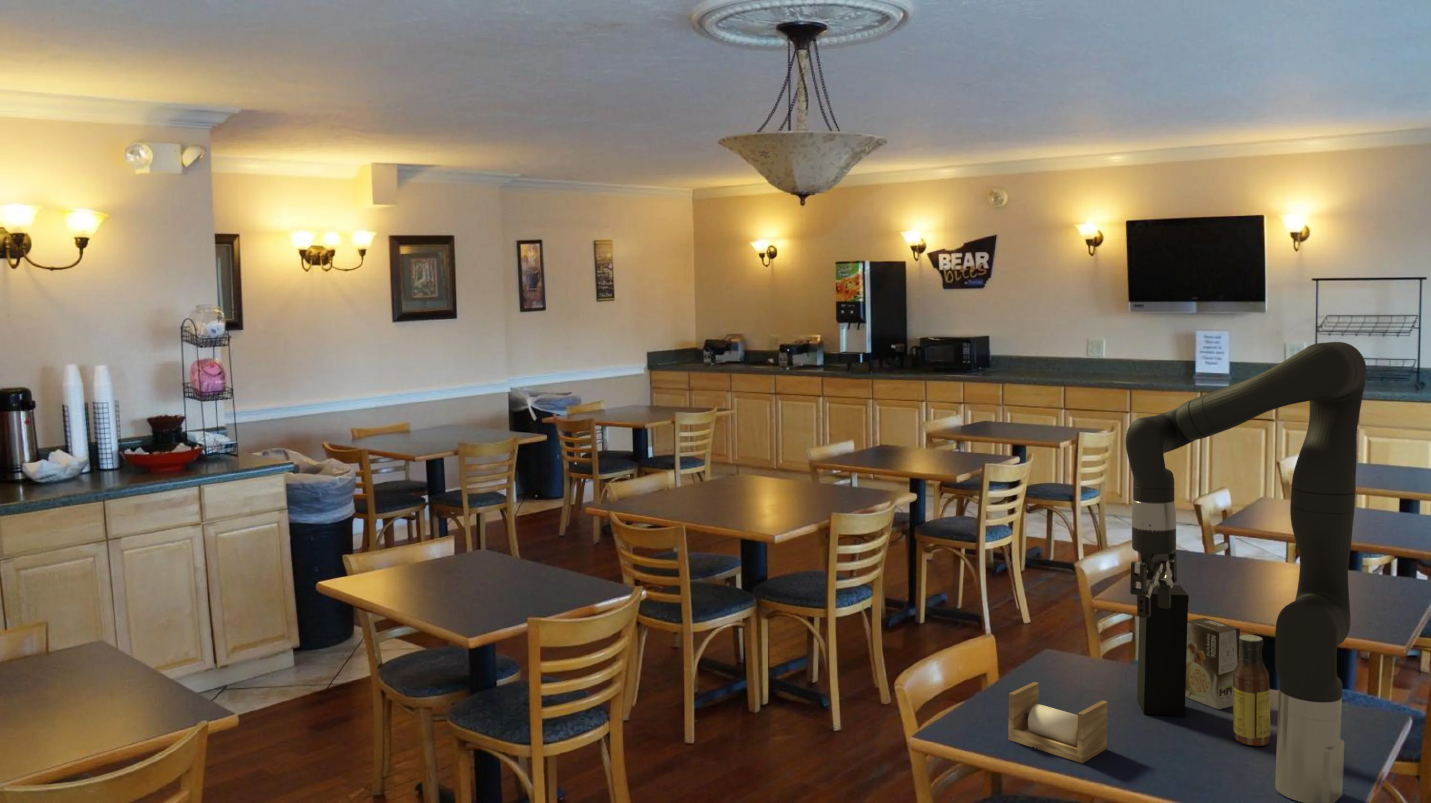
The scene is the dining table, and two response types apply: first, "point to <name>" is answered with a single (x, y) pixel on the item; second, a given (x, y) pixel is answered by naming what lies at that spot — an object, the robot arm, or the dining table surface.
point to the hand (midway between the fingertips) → (1154, 612)
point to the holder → (1088, 740)
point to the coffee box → (1211, 662)
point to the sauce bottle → (1251, 694)
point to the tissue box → (1163, 656)
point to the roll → (1053, 724)
